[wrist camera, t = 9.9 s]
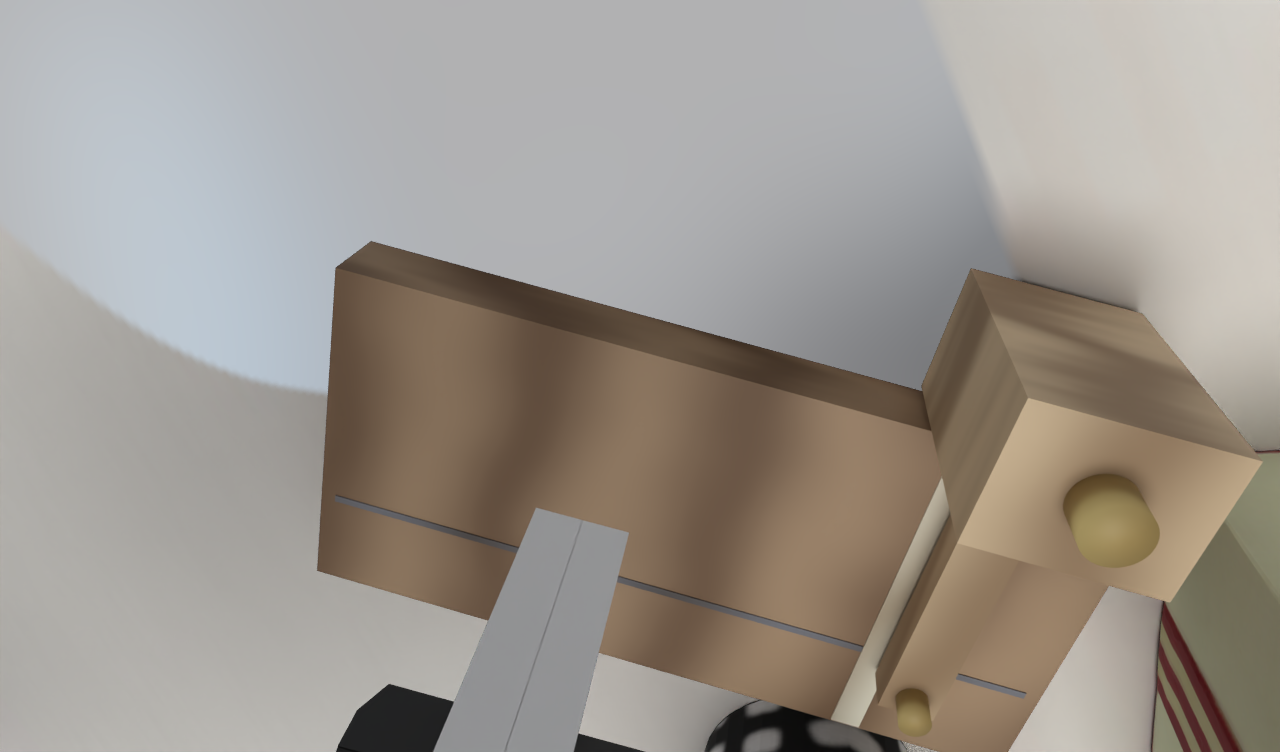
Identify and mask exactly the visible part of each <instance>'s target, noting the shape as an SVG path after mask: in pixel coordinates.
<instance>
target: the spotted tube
mask: <svg viewBox="0 0 1280 752" xmlns="http://www.w3.org/2000/svg"><path fill="white" fill-rule="evenodd" d="M705 752H907V750H906V748H905V747H904V745H903V744H902V742H901V741H900V740H897V739H894V738H890V737H887V736H883V735H880V734H877V733H873V732H870V731H866V730H863V729H859V728H856V727H853V726H849V725H846V724H842V723H839V722H835V721H832V720H828V719H825V718H822V717H818V716H815V715H811V714H808V713H804V712H801V711H798V710H794V709H791V708H787V707H784V706H780V705H777V704H773V703H770V702H767V701H763V700H761V701H758V702H755V703H752V704H749V705H747V706H744V707H742V708H741V709H739V710H737V711H736V712H734V713H732V714H730V715H729V716H728V717H727V718H726V719H725V720H723V721H722V722H721V723H720V724H719V725H718V726H717V727H716V729H715V730H714V732H713V733H712V735H711V736H710V738H709V741H708V744H707V747H706V750H705Z"/></svg>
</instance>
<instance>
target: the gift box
mask: <svg viewBox="0 0 1280 752" xmlns="http://www.w3.org/2000/svg"><path fill="white" fill-rule="evenodd" d="M1256 453H1257V455H1258V456H1259V457H1260V458H1261V460H1262V461H1263V463H1262V464H1261V466H1260V467H1259V469H1258V470H1257V472H1256V473H1255V475H1254V476H1253V478H1252V479H1251V481H1250V482H1249V484H1248V485H1247V487H1246V488H1245V490H1244V491H1243V493H1242V494H1241V496H1240V498H1239V499H1238V501H1237V502H1236V504H1235V505H1234V507H1233V508H1232V510H1231V511H1230V513H1229V514H1228V516H1227V517H1226V519H1225V520H1224V522H1223V523H1222V525H1221V526H1220V528H1219V529H1218V531H1217V532H1216V534H1215V535H1214V537H1213V539H1212V540H1211V542H1210V543H1209V545H1208V546H1207V548H1206V549H1205V551H1204V552H1203V554H1202V555H1201V557H1200V558H1199V560H1198V561H1197V563H1196V564H1195V566H1194V567H1193V569H1192V570H1191V572H1190V573H1189V575H1188V576H1187V578H1186V579H1185V581H1184V583H1183V584H1182V586H1181V587H1180V589H1179V590H1178V592H1177V593H1176V595H1175V596H1174V598H1173V599H1172V601H1171V602H1170V603H1169V602H1166V601H1165V602H1164V606H1163V613H1162V620H1161V631H1160V643H1159V655H1158V673H1157V694H1156V708H1155V720H1154V730H1153V740H1152V752H1280V451H1265V452H1256Z"/></svg>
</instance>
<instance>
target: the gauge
mask: <svg viewBox="0 0 1280 752" xmlns="http://www.w3.org/2000/svg"><path fill="white" fill-rule="evenodd" d="M922 391H923V395H924V400H925V404H926V409H927V413H928V417H929V422H930V426H931V431H932V435H933V439H934V444H935V448H936V453H937V457H938V461H939V466H940V470H941V475H942V479H943V483H944V488H945V492H946V497H947V501H948V505H949V510H950V514H951V515H950V517H949V519H948V521H947V523H946V525H945V527H944V529H943V532H942V534H941V536H940V538H939V540H938V542H937V544H936V546H935V548H934V550H933V553H932V555H931V557H930V559H929V561H928V563H927V565H926V567H925V569H924V571H923V574H922V576H921V578H920V580H919V582H918V584H917V586H916V588H915V590H914V592H913V595H912V597H911V599H910V601H909V603H908V605H907V607H906V609H905V611H904V613H903V616H902V618H901V620H900V622H899V624H898V626H897V628H896V630H895V632H894V635H893V637H892V639H891V641H890V643H889V645H888V647H887V649H886V651H885V653H884V656H883V658H882V660H881V662H880V664H879V666H878V668H877V670H876V672H875V678H876V690H877V703H878V705H879V706H882V707H886V708H889V709H893V710H896V711H897V719H898V727H899V729H900V730H901V732H903V733H904V734H906V735H908V736H912V737H920V736H923V735H926V734H927V733H929V732H930V730H931V728H932V722H931V721H933V720H934V718H935V716H936V714H937V712H938V711H939V709H940V707H941V705H942V703H943V701H944V699H945V698H946V696H947V694H948V692H949V690H950V688H951V686H952V685H953V683H954V681H955V679H956V677H957V675H958V673H959V672H960V670H961V668H962V666H963V664H964V662H965V660H966V659H967V657H968V655H969V653H970V651H971V649H972V647H973V646H974V644H975V642H976V640H977V638H978V636H979V634H980V632H981V631H982V629H983V627H984V625H985V623H986V621H987V619H988V618H989V616H990V614H991V612H992V610H993V608H994V606H995V605H996V603H997V601H998V599H999V597H1000V595H1001V593H1002V592H1003V590H1004V588H1005V586H1006V584H1007V582H1008V580H1009V579H1010V577H1011V575H1012V573H1013V571H1014V569H1015V567H1016V566H1017V564H1018V562H1019V561H1023V562H1026V563H1030V564H1034V565H1037V566H1041V567H1044V568H1048V569H1051V570H1055V571H1059V572H1062V573H1066V574H1069V575H1073V576H1076V577H1080V578H1084V579H1087V580H1091V581H1094V582H1098V583H1101V584H1105V585H1109V586H1112V587H1116V588H1119V589H1123V590H1126V591H1130V592H1134V593H1137V594H1141V595H1144V596H1148V597H1151V598H1155V599H1159V600H1162V601H1166V602H1169V603H1170V602H1171V601H1172V599H1173V598H1174V596H1175V595H1176V593H1177V592H1178V590H1179V589H1180V587H1181V586H1182V584H1183V583H1184V581H1185V579H1186V578H1187V576H1188V575H1189V573H1190V572H1191V570H1192V569H1193V567H1194V566H1195V564H1196V563H1197V561H1198V560H1199V558H1200V557H1201V555H1202V554H1203V552H1204V551H1205V549H1206V548H1207V546H1208V545H1209V543H1210V542H1211V540H1212V539H1213V537H1214V535H1215V534H1216V532H1217V531H1218V529H1219V528H1220V526H1221V525H1222V523H1223V522H1224V520H1225V519H1226V517H1227V516H1228V514H1229V513H1230V511H1231V510H1232V508H1233V507H1234V505H1235V504H1236V502H1237V501H1238V499H1239V498H1240V496H1241V494H1242V493H1243V491H1244V490H1245V488H1246V487H1247V485H1248V484H1249V482H1250V481H1251V479H1252V478H1253V476H1254V475H1255V473H1256V472H1257V470H1258V469H1259V467H1260V466H1261V464H1262V463H1263V461H1262V460H1261V458H1260V457H1259V456H1258V455H1257V453H1256V452H1255V451H1254V450H1253V449H1252V447H1251V446H1250V445H1249V444H1248V442H1247V441H1246V440H1245V439H1244V438H1243V436H1242V435H1241V434H1240V433H1239V431H1238V430H1237V429H1236V428H1235V427H1234V425H1233V424H1232V423H1231V422H1230V420H1229V419H1228V418H1227V417H1226V415H1225V414H1224V413H1223V412H1222V411H1221V409H1220V408H1219V407H1218V406H1217V404H1216V403H1215V402H1214V401H1213V400H1212V398H1211V397H1210V396H1209V395H1208V393H1207V392H1206V391H1205V390H1204V389H1203V387H1202V386H1201V385H1200V384H1199V382H1198V381H1197V380H1196V379H1195V377H1194V376H1193V375H1192V374H1191V373H1190V371H1189V370H1188V369H1187V368H1186V366H1185V365H1184V364H1183V363H1182V362H1181V360H1180V359H1179V358H1178V357H1177V355H1176V354H1175V353H1174V352H1173V351H1172V349H1171V348H1170V347H1169V346H1168V344H1167V343H1166V342H1165V341H1164V340H1163V338H1162V337H1161V336H1160V335H1159V333H1158V332H1157V331H1156V330H1155V328H1154V327H1153V326H1152V325H1151V324H1150V322H1149V321H1148V320H1147V319H1146V317H1145V316H1144V315H1143V314H1142V313H1138V312H1134V311H1130V310H1127V309H1123V308H1119V307H1115V306H1111V305H1108V304H1104V303H1100V302H1096V301H1093V300H1089V299H1085V298H1081V297H1077V296H1074V295H1070V294H1066V293H1062V292H1059V291H1055V290H1051V289H1047V288H1044V287H1040V286H1036V285H1032V284H1028V283H1025V282H1021V281H1017V280H1013V279H1010V278H1006V277H1002V276H998V275H994V274H991V273H987V272H983V271H979V270H976V269H972V268H971V269H970V272H969V274H968V277H967V279H966V281H965V284H964V286H963V288H962V291H961V293H960V296H959V298H958V300H957V303H956V305H955V308H954V310H953V312H952V315H951V317H950V319H949V322H948V324H947V327H946V329H945V331H944V334H943V336H942V338H941V341H940V343H939V346H938V348H937V350H936V353H935V355H934V357H933V360H932V362H931V365H930V367H929V369H928V372H927V374H926V377H925V379H924V381H923V384H922Z"/></svg>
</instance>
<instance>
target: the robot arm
mask: <svg viewBox="0 0 1280 752" xmlns="http://www.w3.org/2000/svg"><path fill="white" fill-rule="evenodd" d="M628 535H629V532H625V531H621V530H617V529H614V528H610V527H606V526H602V525H599V524H595V523H591V522H587V521H584V520H580V519H576V518H573V517H569V516H565V515H561V514H558V513H554V512H550V511H546V510H543V509H539V508H536V509H535V511H534V514H533V516H532V519H531V521H530V523H529V526H528V528H527V530H526V533H525V535H524V538H523V540H522V542H521V545H520V547H519V549H518V552H517V554H516V557H515V559H514V561H513V564H512V566H511V568H510V571H509V573H508V576H507V578H506V580H505V583H504V585H503V587H502V590H501V592H500V594H499V597H498V599H497V602H496V604H495V606H494V609H493V611H492V613H491V616H490V618H489V621H488V623H487V625H486V628H485V630H484V632H483V635H482V637H481V640H480V642H479V644H478V647H477V649H476V651H475V654H474V656H473V658H472V661H471V663H470V666H469V668H468V670H467V673H466V675H465V677H464V680H463V682H462V685H461V687H460V689H459V692H458V694H457V696H456V699H455V701H454V702H453V701H449V700H446V699H442V698H438V697H435V696H431V695H427V694H424V693H420V692H416V691H413V690H409V689H405V688H402V687H398V686H395V685H391V684H388V685H387V686H386V687H385V688H383V689H382V690H381V691H380V692H379V693H377V694H376V695H375V696H374V697H373V698H371V699H370V700H369V701H368V702H367V703H365V704H364V705H363V706H362V707H361V708H359V709H358V710H357V711H356V713H355V715H354V717H353V719H352V721H351V723H350V724H349V726H348V728H347V730H346V732H345V734H344V736H343V737H342V739H341V741H340V743H339V745H338V748H337V751H336V752H644V751H640V750H637V749H633V748H629V747H626V746H622V745H618V744H615V743H611V742H607V741H604V740H600V739H596V738H593V737H589V736H585V735H582V734H578V732H579V728H580V724H581V721H582V717H583V713H584V709H585V705H586V701H587V697H588V693H589V689H590V685H591V681H592V677H593V673H594V669H595V665H596V661H597V657H598V653H599V649H600V646H601V642H602V638H603V634H604V630H605V626H606V622H607V618H608V614H609V610H610V606H611V602H612V598H613V594H614V590H615V586H616V582H617V578H618V574H619V571H620V567H621V563H622V559H623V555H624V551H625V547H626V543H627V539H628Z"/></svg>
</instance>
